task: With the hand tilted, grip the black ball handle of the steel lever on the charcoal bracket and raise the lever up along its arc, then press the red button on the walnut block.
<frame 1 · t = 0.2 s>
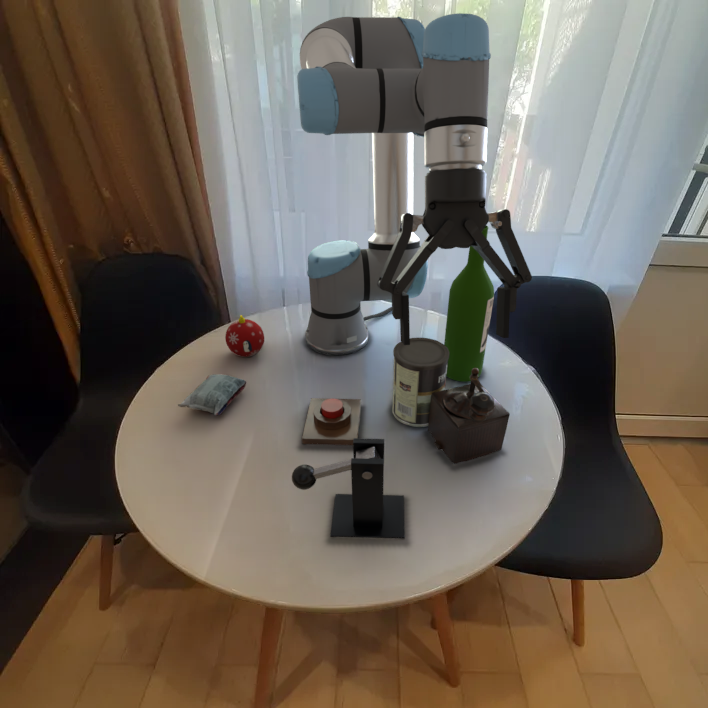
hand: (454, 339, 66), 28 cm above the table, tool tilted 20°, fingers open, 13 cm apart
button block: (333, 426, 93), on the table
brown coffee grinder: (468, 452, 88), on the table
lever: (334, 468, 69), point 11 cm above the table, hinge at -22.0°
wine bottle: (461, 371, 109), on the table
christmas ornament: (248, 354, 114), on the table
packaged food: (215, 402, 99), on the table
bracket: (368, 519, 76), on the table
coffee can: (417, 411, 98), on the table
button: (332, 408, 91), point 4 cm above the table, slide at 0.1 cm
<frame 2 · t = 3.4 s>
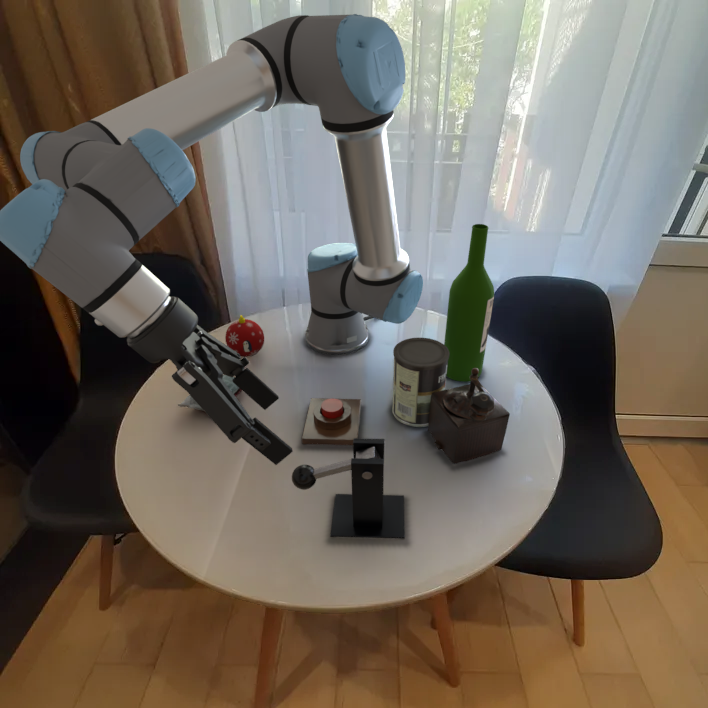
hand: (277, 427, 65), 18 cm above the table, tool tilted 35°, fingers open, 13 cm apart
nothing on the table moved.
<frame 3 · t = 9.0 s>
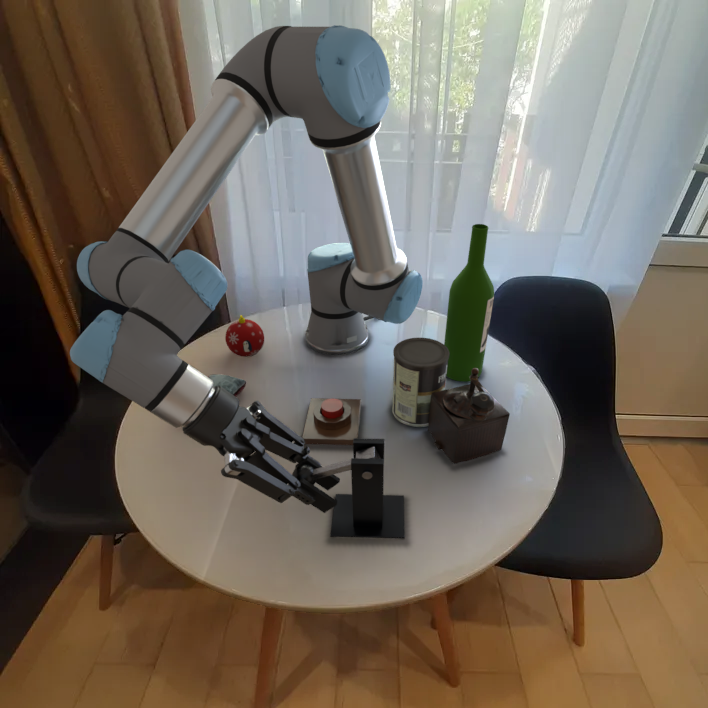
hand: (332, 495, 72), 5 cm above the table, tool tilted 45°, fingers closed on lever, 4 cm apart
lever: (334, 468, 69), point 11 cm above the table, hinge at -22.0°, touching gripper
everything else where it was.
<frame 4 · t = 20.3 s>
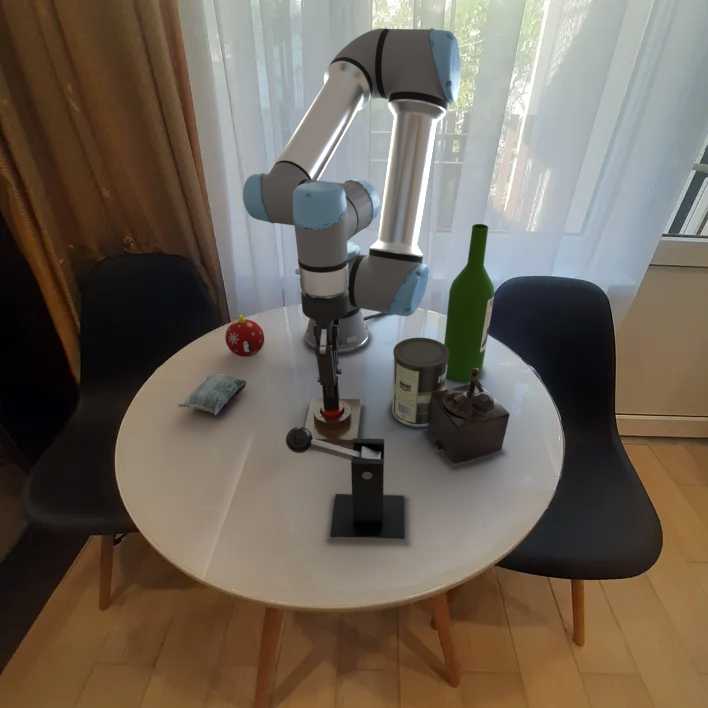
hand: (331, 406, 90), 5 cm above the table, tool pointing down, fingers closed
lever: (332, 449, 67), point 15 cm above the table, hinge at 20.6°
button: (332, 410, 91), point 4 cm above the table, slide at -0.4 cm, touching gripper
everything else where it was.
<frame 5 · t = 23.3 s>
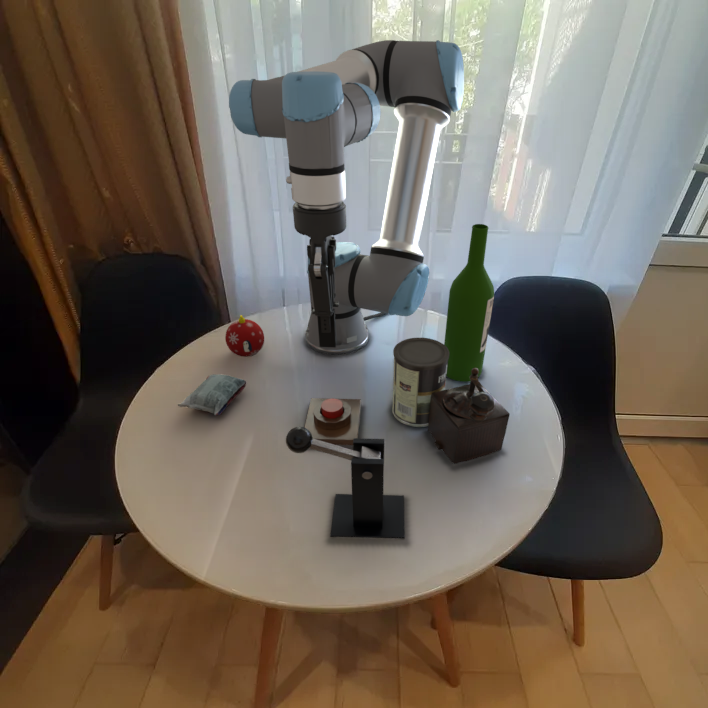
hand: (328, 344, 82), 18 cm above the table, tool pointing down, fingers closed
button: (332, 408, 91), point 4 cm above the table, slide at 0.1 cm
everything else where it was.
at the end: lever at +21° (first picture: -22°); button pushed in 1.0 cm at the most during the clip, back to where it started at the end; button slide at 0.1 cm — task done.
